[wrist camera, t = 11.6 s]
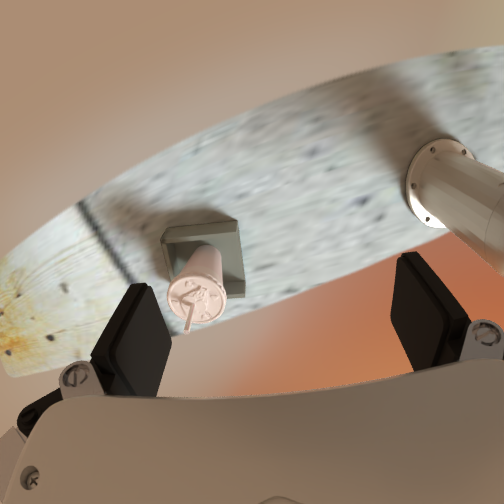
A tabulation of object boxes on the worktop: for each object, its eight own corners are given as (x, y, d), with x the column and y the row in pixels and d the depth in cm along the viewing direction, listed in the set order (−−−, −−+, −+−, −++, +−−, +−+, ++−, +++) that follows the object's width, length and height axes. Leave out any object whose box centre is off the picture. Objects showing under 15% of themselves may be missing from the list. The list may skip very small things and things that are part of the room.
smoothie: (175, 264, 41) (147, 334, 29) (196, 226, 39) (170, 289, 26) (217, 285, 43) (205, 360, 30) (240, 249, 40) (234, 320, 28)
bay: (237, 220, 39) (236, 231, 36) (245, 282, 43) (245, 297, 40) (167, 228, 39) (160, 239, 36) (181, 287, 43) (176, 302, 40)
